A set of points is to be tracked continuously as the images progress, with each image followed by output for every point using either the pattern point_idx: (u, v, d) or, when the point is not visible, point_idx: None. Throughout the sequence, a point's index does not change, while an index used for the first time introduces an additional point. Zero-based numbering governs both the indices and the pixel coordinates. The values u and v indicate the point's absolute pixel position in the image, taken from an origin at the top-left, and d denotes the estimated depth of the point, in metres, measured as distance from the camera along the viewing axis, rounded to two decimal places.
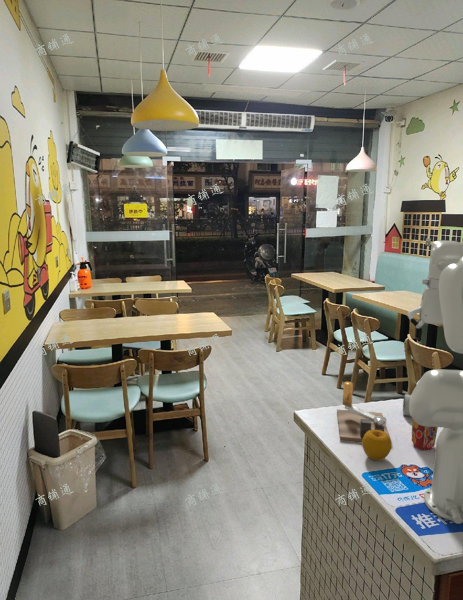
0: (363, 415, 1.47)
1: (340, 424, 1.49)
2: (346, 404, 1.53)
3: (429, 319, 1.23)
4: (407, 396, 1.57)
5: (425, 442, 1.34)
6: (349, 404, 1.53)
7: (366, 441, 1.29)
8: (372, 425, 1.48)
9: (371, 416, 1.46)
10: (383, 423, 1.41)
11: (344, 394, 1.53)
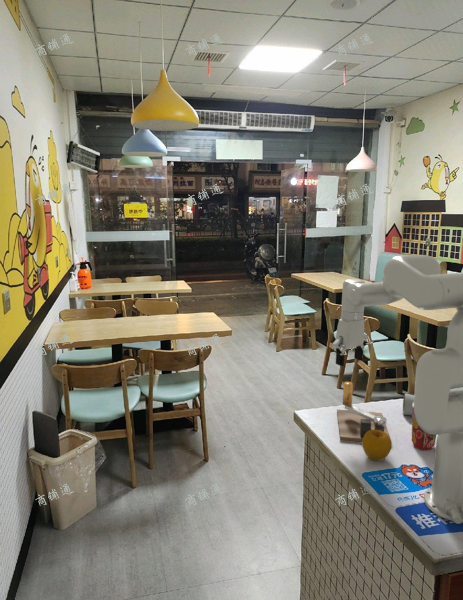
0: (363, 415, 1.47)
1: (340, 424, 1.49)
2: (346, 404, 1.53)
3: None
4: (407, 395, 1.58)
5: (425, 442, 1.34)
6: (349, 404, 1.53)
7: (366, 441, 1.29)
8: (372, 425, 1.48)
9: (371, 416, 1.46)
10: (383, 423, 1.41)
11: (344, 394, 1.53)
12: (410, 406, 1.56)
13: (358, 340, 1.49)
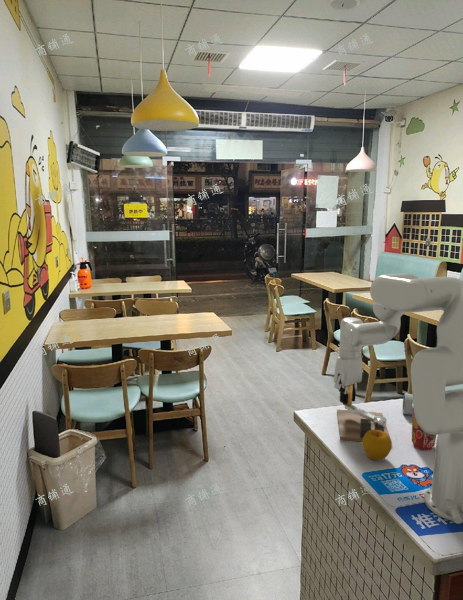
0: (363, 415, 1.47)
1: (340, 424, 1.49)
2: (346, 404, 1.53)
3: None
4: (407, 395, 1.58)
5: (425, 442, 1.34)
6: (349, 404, 1.53)
7: (366, 441, 1.29)
8: (372, 425, 1.48)
9: (371, 416, 1.46)
10: (383, 423, 1.41)
11: None
12: (410, 405, 1.56)
13: (356, 377, 1.51)
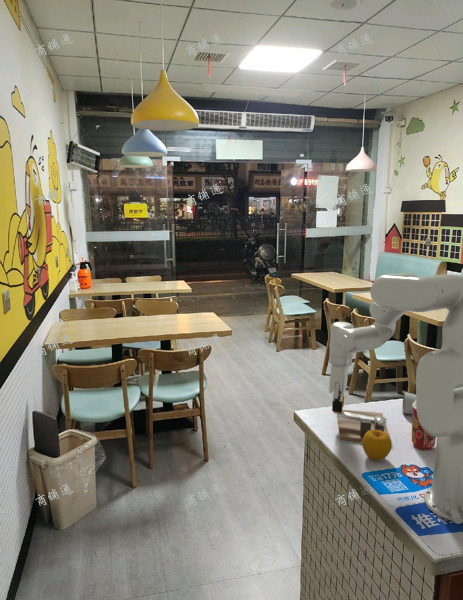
0: None
1: (340, 424, 1.49)
2: (339, 412, 1.47)
3: None
4: (406, 394, 1.59)
5: (425, 442, 1.34)
6: None
7: (366, 441, 1.29)
8: (372, 425, 1.48)
9: (370, 418, 1.44)
10: (385, 422, 1.42)
11: None
12: (410, 405, 1.57)
13: (346, 382, 1.47)
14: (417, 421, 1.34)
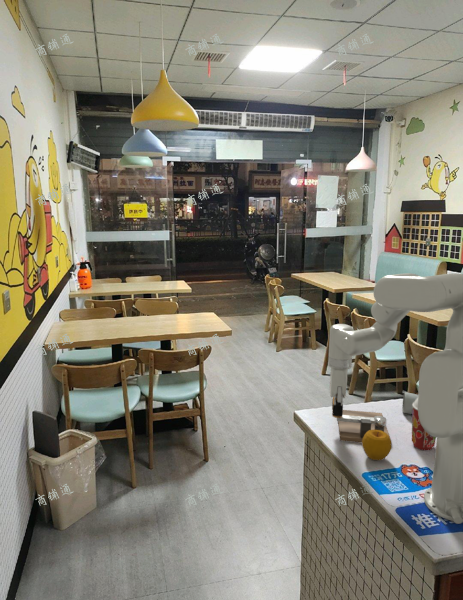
0: None
1: (340, 424, 1.49)
2: (339, 416, 1.44)
3: None
4: (406, 394, 1.59)
5: (425, 442, 1.34)
6: None
7: (366, 441, 1.29)
8: (372, 425, 1.48)
9: (370, 419, 1.43)
10: None
11: None
12: (409, 404, 1.57)
13: None
14: (417, 421, 1.34)
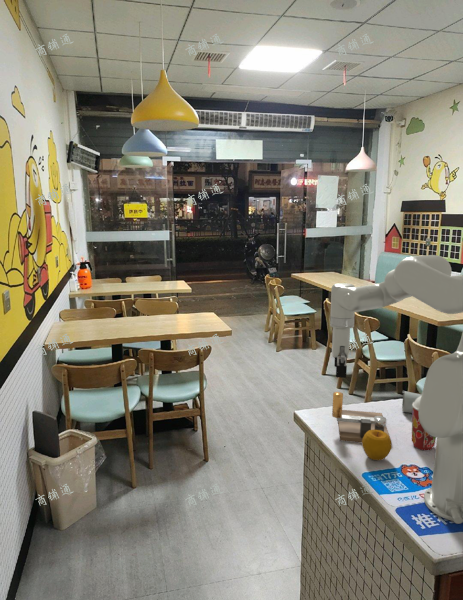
0: None
1: (340, 424, 1.49)
2: (339, 416, 1.44)
3: None
4: (406, 393, 1.60)
5: (425, 442, 1.34)
6: (341, 415, 1.45)
7: (366, 441, 1.29)
8: (372, 425, 1.48)
9: (370, 419, 1.43)
10: None
11: (337, 406, 1.44)
12: (409, 403, 1.58)
13: None
14: (417, 421, 1.34)
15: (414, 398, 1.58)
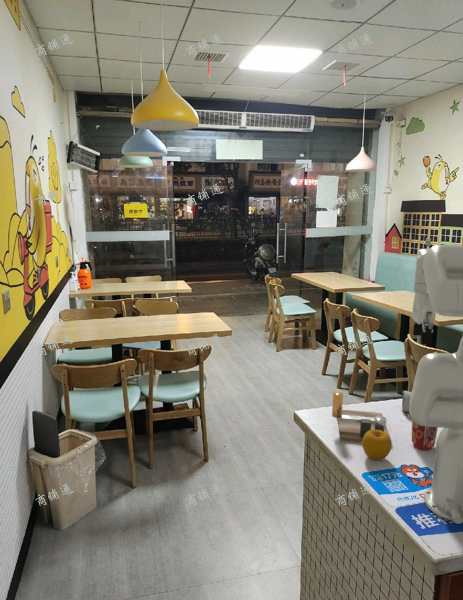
0: None
1: (340, 424, 1.49)
2: (339, 416, 1.44)
3: (412, 315, 1.42)
4: (406, 392, 1.60)
5: (425, 442, 1.34)
6: (341, 415, 1.45)
7: (366, 441, 1.29)
8: (372, 425, 1.48)
9: (370, 419, 1.43)
10: None
11: (337, 406, 1.44)
12: (409, 403, 1.58)
13: None
14: None
15: None
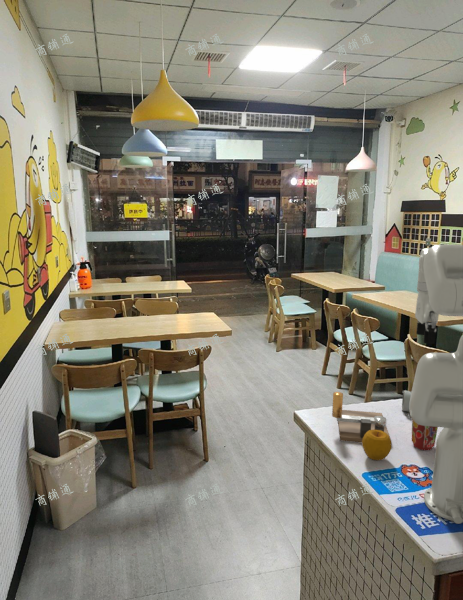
0: None
1: (340, 424, 1.49)
2: (339, 416, 1.44)
3: (415, 314, 1.42)
4: (406, 392, 1.61)
5: (425, 442, 1.34)
6: (341, 415, 1.45)
7: (366, 441, 1.29)
8: (372, 425, 1.48)
9: (370, 419, 1.43)
10: None
11: (337, 406, 1.44)
12: (409, 402, 1.58)
13: None
14: None
15: None
